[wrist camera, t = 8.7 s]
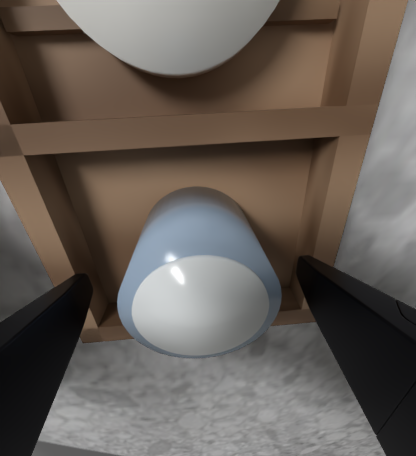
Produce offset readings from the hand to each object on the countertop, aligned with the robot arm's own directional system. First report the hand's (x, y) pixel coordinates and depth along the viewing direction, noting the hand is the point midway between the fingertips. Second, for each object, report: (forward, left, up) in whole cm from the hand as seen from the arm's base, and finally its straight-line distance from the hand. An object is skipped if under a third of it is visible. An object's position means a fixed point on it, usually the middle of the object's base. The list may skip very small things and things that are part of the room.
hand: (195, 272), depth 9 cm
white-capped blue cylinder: (0, 0, -3) cm, 3 cm away
